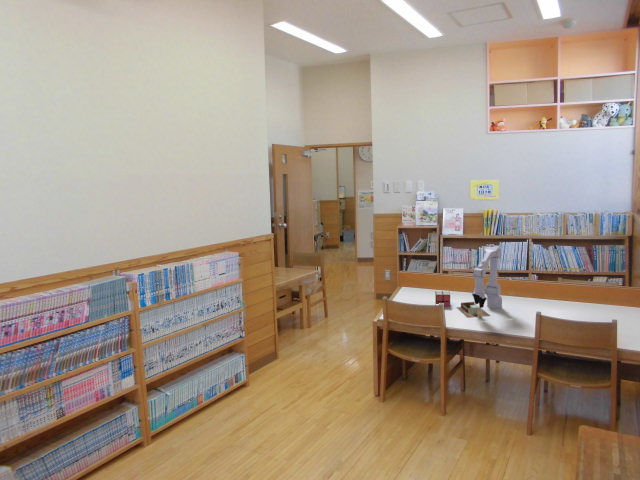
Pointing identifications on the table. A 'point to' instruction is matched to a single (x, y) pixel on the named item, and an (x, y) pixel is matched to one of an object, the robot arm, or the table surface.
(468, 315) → the shelf lane
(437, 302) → the puzzle cube
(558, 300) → the table surface
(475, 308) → the sage block
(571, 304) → the table surface
